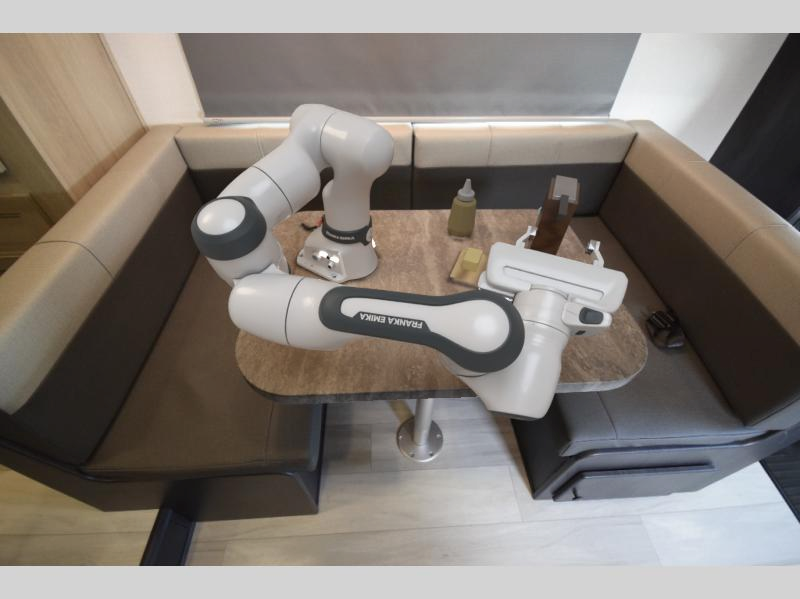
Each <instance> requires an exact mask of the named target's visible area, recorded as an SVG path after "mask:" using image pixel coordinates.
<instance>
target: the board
mask: <svg viewBox="0 0 800 599" xmlns="http://www.w3.org/2000/svg"><path fill="white" fill-rule="evenodd" d="M467 250H468V249H464V248H462V249H461V251H460V253H459V255H458V256H457V260H456V262H455V264H454V266H453V268H452V270H451V273H450V275H449V277H450V278H453V279H456V280H460V281H464V282H468V283H471V284H474V285H477V283H478V279H479V276H480V274H481V273H482V272H483V271H485V270H486V267H487V261H488V257H489V254H484V253H482V257H481V260H480V263H479V265H478V268H477V271H476V272H474V271H470V270H466V269H462V263H463V259H464V257H465V254H466V252H467Z"/></svg>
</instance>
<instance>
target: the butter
mask: <svg viewBox="0 0 800 599" xmlns="http://www.w3.org/2000/svg"><path fill="white" fill-rule="evenodd" d="M466 250H467V252H466V254H465V257H464V259H463V263H462V269H466V270H470V271H474V272H476V271H477V268H478V265H479V263H480V260H481V257H482V254H483V251H484V250H482V249H478V248H474V247H471V246H468V247H467V249H466Z"/></svg>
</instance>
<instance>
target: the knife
mask: <svg viewBox="0 0 800 599" xmlns="http://www.w3.org/2000/svg"><path fill="white" fill-rule="evenodd" d="M555 178H556V179H555V184H554V189H553V195H552V199H555V200H559V204H558V211H557V217H556V220H558V221H563V222H564V220H565V218H566V216H567V209H568V202H570V203H575V200H576V190H577V183H578V178H573V177H569V176H565V175H564V176H563V175H558V174H557V175H556V176H555Z"/></svg>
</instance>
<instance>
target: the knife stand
mask: <svg viewBox="0 0 800 599" xmlns="http://www.w3.org/2000/svg"><path fill="white" fill-rule="evenodd" d="M555 179H556V177H552V178H551V180H550V183H549V186H548V188H547V191H546V194H545V197H544V200H543V202H542V205H541V207H542V208H541V211H540V214H539V217H538V219H537V218H536V220H537V222H536V221H535V224H536V225H535V224H534V227H538V229H537V231H536V235H535V238H534V240H533V241H531V240H529V242H528V245H527V249H531V250H535V251H539V252H543V253H547V254H551V255H555V256H557V254H558V251H559V249H560V247H561V244H562V243H563V240H564V239H565V235H566V233H567V231H568V228H569V226H570V224H571V222H572V219H573V217H574V215H575V212H576V210H577V207H578V205H579V194H580V184H581V183H580V182H577V190H576V200H575V203H570V202H568V209H567V216H566V218H565V220H564V222H563V221H558V220H556V217H557V211H558V204H559V200H555V199H552V195H553V189H554V184H555Z"/></svg>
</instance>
